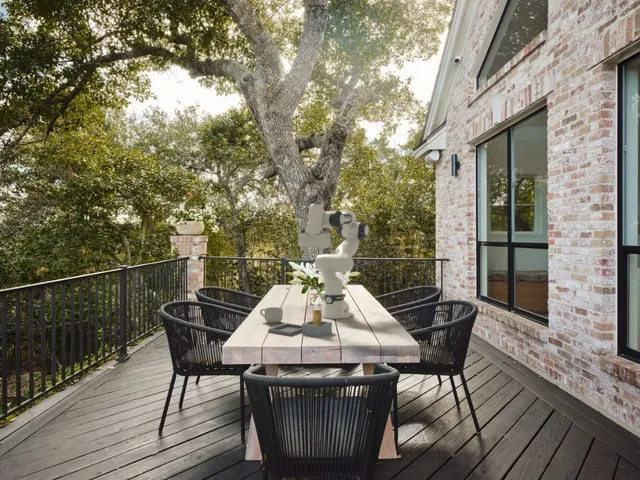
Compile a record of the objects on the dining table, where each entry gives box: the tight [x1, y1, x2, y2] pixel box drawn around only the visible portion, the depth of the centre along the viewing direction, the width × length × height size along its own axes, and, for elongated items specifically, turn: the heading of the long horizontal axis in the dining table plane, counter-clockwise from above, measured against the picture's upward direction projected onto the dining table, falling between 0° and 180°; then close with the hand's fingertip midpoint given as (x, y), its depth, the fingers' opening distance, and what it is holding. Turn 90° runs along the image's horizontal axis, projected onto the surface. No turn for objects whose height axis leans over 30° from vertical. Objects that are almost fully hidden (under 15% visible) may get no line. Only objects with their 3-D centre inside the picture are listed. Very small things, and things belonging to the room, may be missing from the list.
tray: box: [268, 322, 302, 337], centre depth 211 cm, size 16×14×2 cm
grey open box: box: [301, 319, 333, 338], centre depth 206 cm, size 11×11×6 cm
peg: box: [312, 308, 322, 326], centre depth 206 cm, size 4×4×12 cm
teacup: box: [259, 306, 284, 325], centre depth 235 cm, size 14×11×8 cm
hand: (312, 255), depth 230 cm, fingers open, 8 cm apart
